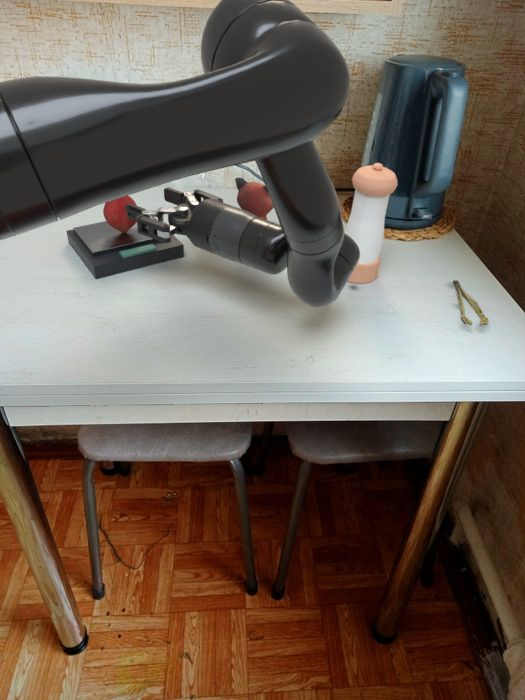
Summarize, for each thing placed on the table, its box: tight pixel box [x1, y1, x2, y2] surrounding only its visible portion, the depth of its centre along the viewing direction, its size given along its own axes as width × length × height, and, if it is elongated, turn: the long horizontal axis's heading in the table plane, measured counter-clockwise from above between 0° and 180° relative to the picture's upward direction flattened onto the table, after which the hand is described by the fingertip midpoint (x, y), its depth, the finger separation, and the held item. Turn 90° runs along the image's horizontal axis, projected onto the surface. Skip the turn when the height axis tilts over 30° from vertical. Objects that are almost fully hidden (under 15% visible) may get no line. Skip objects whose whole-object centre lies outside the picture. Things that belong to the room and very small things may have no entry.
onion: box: [102, 195, 138, 233], centre depth 87 cm, size 6×6×8 cm
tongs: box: [452, 279, 489, 326], centre depth 84 cm, size 4×13×2 cm, turn 4°
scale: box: [66, 217, 185, 280], centre depth 90 cm, size 16×14×3 cm
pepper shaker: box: [344, 162, 399, 284], centre depth 84 cm, size 7×7×19 cm
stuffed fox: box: [234, 177, 274, 220], centre depth 90 cm, size 8×11×12 cm
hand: (147, 201), depth 82 cm, fingers open, 8 cm apart
